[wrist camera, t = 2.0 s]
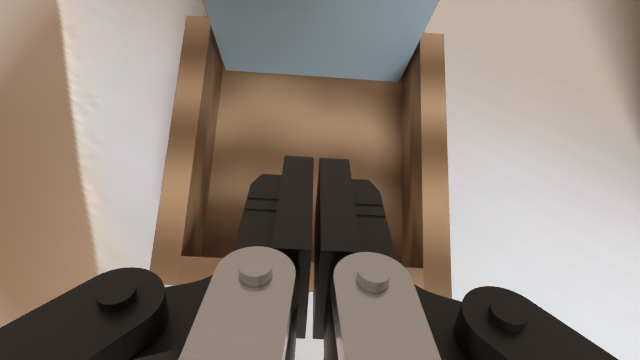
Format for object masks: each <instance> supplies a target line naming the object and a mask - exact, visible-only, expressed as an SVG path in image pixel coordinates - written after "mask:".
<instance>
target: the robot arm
mask: <svg viewBox="0 0 640 360" xmlns="http://www.w3.org/2000/svg"><path fill="white" fill-rule="evenodd" d="M313 173H314V157H303V156H287V155H285V157H284V163H283V170H282V175H276V174H261V175H260V176H259V177H258V178H257V179H256V180H255V181H254V182H253V183H251V184H250V188H249V192H248V196H247V200H246V203H245V207H244V211H243V214H242V218H241V221H240V225H239V229H238V233H237V236H236V240H235V244H234V247H233V251H232V252H231V253H230V254H228V255H226V256H225V257H224V258H223V259H222V260H221V261H220V262H219V263H218V265H217V267H216V269H215V271H214V274H213V275H211V276H209V277H207V278H204V279H201V280H199V281H195V282H191V283H186V284H181V285H175V286H170V287H164V284H163V282H162V280H161V278H160V277H159V276H158V275H156V274H155V273H153V272H151V271H149V270H146V269H142V268H120V269H115V270H111V271H108V272H105V273H102V274H100V275H98V276H96V277H94V278H92V279H90V280H88V281H86V282H85V283H83V284H81V285H79V286H77V287H75V288H73V289H72V290H70V291H68V292H66V293H64V294H62V295H61V296H59V297H57V298H55V299H53V300H51V301H49V302H47V303H46V304H44V305H42V306H40V307H38V308H36V309H35V310H33V311H31V312H29V313H27V314H25V315H23V316H21V317H20V318H18V319H16V320H14V321H12V322H10V323H9V324H7V325H5V326H3V327H1V328H0V360H294V358H295V344H296V338H304V339H305V333H306V320H307V307H308V294H309V281H310V268H311V255H312V222H313ZM313 339H324V360H618V359H617V358H615V357H614V356H612V355H611V354H609V353H608V352H606V351H605V350H603V349H602V348H600V347H599V346H597V345H596V344H594V343H593V342H591V341H590V340H588V339H587V338H585V337H584V336H582V335H581V334H579V333H578V332H576V331H575V330H573V329H572V328H570V327H569V326H567V325H566V324H564V323H563V322H561V321H560V320H558V319H557V318H555V317H554V316H552V315H551V314H549V313H548V312H546V311H545V310H543V309H542V308H540V307H539V306H537V305H536V304H534V303H533V302H531V301H530V300H528V299H527V298H525V297H523V296H522V295H520V294H517V293H515V292H513V291H510V290H507V289H504V288H500V287H493V286H485V287H479V288H475V289H473V290H471V291H469V292H468V293H467V294H466V295H465V297H464V299H463V301H462V302H460V301H457V300H454V299H450V298H447V297H444V296H440V295H437V294H434V293H431V292H428V291H426V290H424V289H422V288H420V287H418V286H417V285H415V284H414V283H413V280H412V278H411V275H410V273H409V272H408V271H407V269H406V268H405V267H404V266H403V265H402V264H400V263H399V262H398V261H396V257H395V252H394V248H393V244H392V240H391V235H390V231H389V227H388V223H387V219H386V214H385V210H384V208H383V202H382V198H381V193H380V191H379V190H378V189H377V188H376V187H375V186H374V185H373V184H372V183H371V181H370V180H363V179H352V178H351V170H350V163H349V159H338V158H321V157H320V159H319V170H318V183H317V196H316V209H315V226H314V285H313Z"/></svg>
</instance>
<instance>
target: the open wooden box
mask: <svg viewBox="0 0 640 360" xmlns="http://www.w3.org/2000/svg"><path fill="white" fill-rule="evenodd" d="M285 155H287V156H303V157H314V173H313V222H312V255H311V268H310V281H309V292H313V285H314V226H315V209H316V196H317V183H318V170H319V159H320V157H321V158H338V159H349V163H350V170H351V178H352V179H363V180H370V181H371V183H372V184H373V185H374V186H375V187H376V188H377V189H378V190H379V191H380V193H381V198H382V202H383V208H384V210H385V214H386V219H387V223H388V227H389V231H390V235H391V240H392V244H393V248H394V252H395V257H396V261H398V262H399V263H400V264H402V265H403V266H404V267H405V268H406V269H407V271H408V272H409V273H410V275H411V278H412V280H413V283H414V284H415V285H417V286H418V287H420V288H422V289H424V290H426V291H428V292H431V293H434V294H437V295H440V296H444V297H447V298H451V299H452V290H451V257H450V224H449V191H448V158H447V125H446V92H445V60H444V34H433V33H423V34H422V36H421V38H420V40H419V43H418V45H417V47H416V49H415V51H414V53H413V55H412V57H411V59H410V61H409V63H408V65H407V67H406V69H405V71H404V73H403V75H402V77H401V79H400V81H399V82H392V81H377V80H362V79H347V78H333V77H318V76H303V75H288V74H274V73H259V72H244V71H229V70H226V69H225V66H224V63H223V60H222V57H221V54H220V51H219V48H218V45H217V42H216V39H215V36H214V33H213V30H212V27H211V24H210V21H209V18H208V17H198V16H187V17H186V24H185V31H184V38H183V44H182V51H181V58H180V65H179V72H178V79H177V86H176V93H175V99H174V106H173V113H172V120H171V127H170V134H169V141H168V148H167V155H166V161H165V168H164V175H163V182H162V189H161V196H160V203H159V210H158V216H157V223H156V230H155V237H154V244H153V251H152V258H151V265H150V271H151V272H153V273H155V274H156V275H158V276H159V277H160V278H161V280H162V282H163V284H164V285H181V284H186V283H191V282H195V281H199V280H201V279H204V278H207V277H209V276H211V275H213V274H214V271H215V269H216V267H217V265H218V263H219V262H220V261H221V260H222V259H223V258H224V257H225V256H226V255H228V254H230V253H231V252H232V251H233V247H234V244H235V240H236V236H237V233H238V229H239V225H240V221H241V218H242V214H243V211H244V207H245V203H246V200H247V196H248V192H249V188H250V184H251V183H253V182H254V181H255V180H256V179H257V178H258V177H259V176H260V175H261V174H276V175H282V170H283V163H284V157H285Z"/></svg>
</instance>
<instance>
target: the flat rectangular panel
mask: <svg viewBox="0 0 640 360" xmlns="http://www.w3.org/2000/svg"><path fill="white" fill-rule="evenodd" d="M438 2H439V0H203V3H204V6H205V9H206V12H207V15H208V18H209V21H210V24H211V27H212V30H213V33H214V36H215V39H216V42H217V45H218V48H219V51H220V54H221V57H222V60H223V63H224V66H225V69H226V70H229V71H244V72H259V73H274V74H288V75H303V76H318V77H333V78H347V79H362V80H377V81H392V82H399V81H400V79H401V77H402V75H403V73H404V71H405V69H406V67H407V65H408V63H409V61H410V59H411V57H412V55H413V53H414V51H415V49H416V47H417V45H418V43H419V40H420V38H421V36H422V34H423V32H424V30H425V28H426V26H427V24H428V22H429V20H430V18H431V16H432V14H433V12H434V10H435V8H436V6H437V4H438Z"/></svg>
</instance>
